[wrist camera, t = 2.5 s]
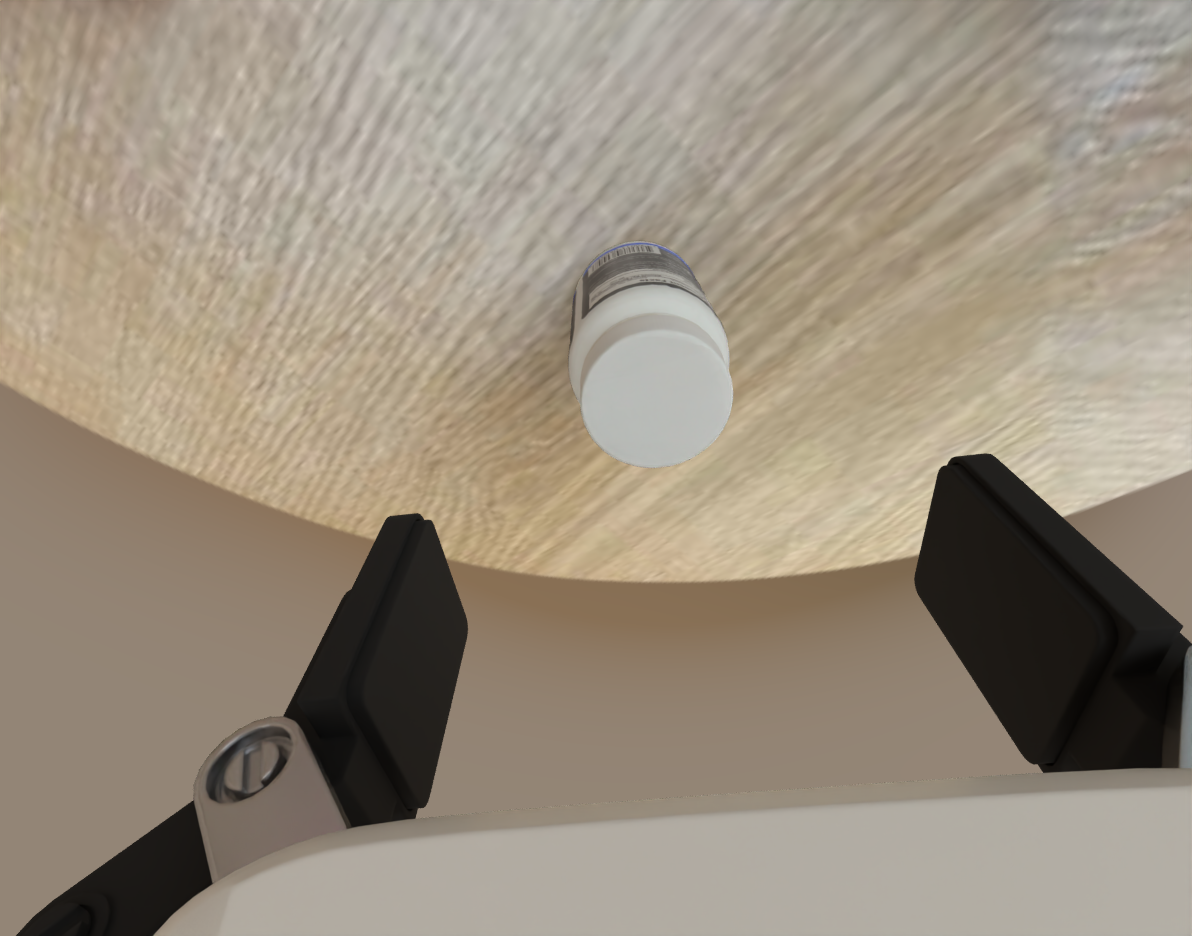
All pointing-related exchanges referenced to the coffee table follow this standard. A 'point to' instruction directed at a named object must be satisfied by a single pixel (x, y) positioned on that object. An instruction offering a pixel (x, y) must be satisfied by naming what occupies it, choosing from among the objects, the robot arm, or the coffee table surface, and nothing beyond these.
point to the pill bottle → (648, 357)
